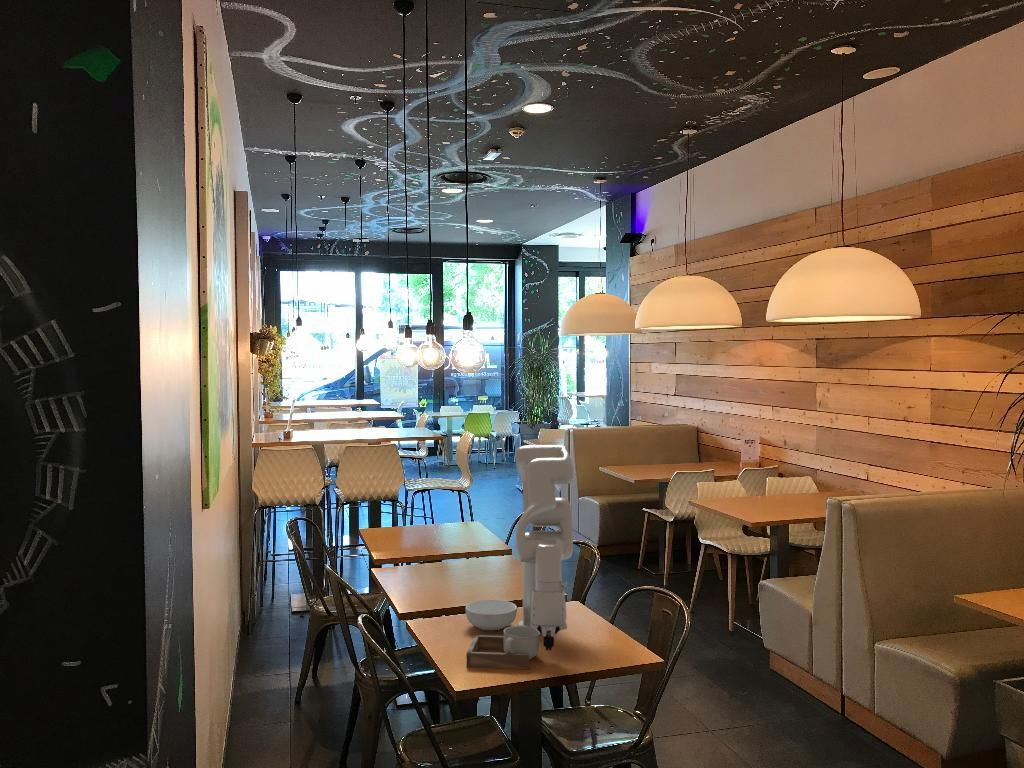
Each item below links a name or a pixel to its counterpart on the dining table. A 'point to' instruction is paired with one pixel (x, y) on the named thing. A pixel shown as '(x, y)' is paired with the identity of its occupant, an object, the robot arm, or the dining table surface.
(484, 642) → the walnut bay
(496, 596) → the dining table surface
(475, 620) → the cereal bowl
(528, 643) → the teacup
